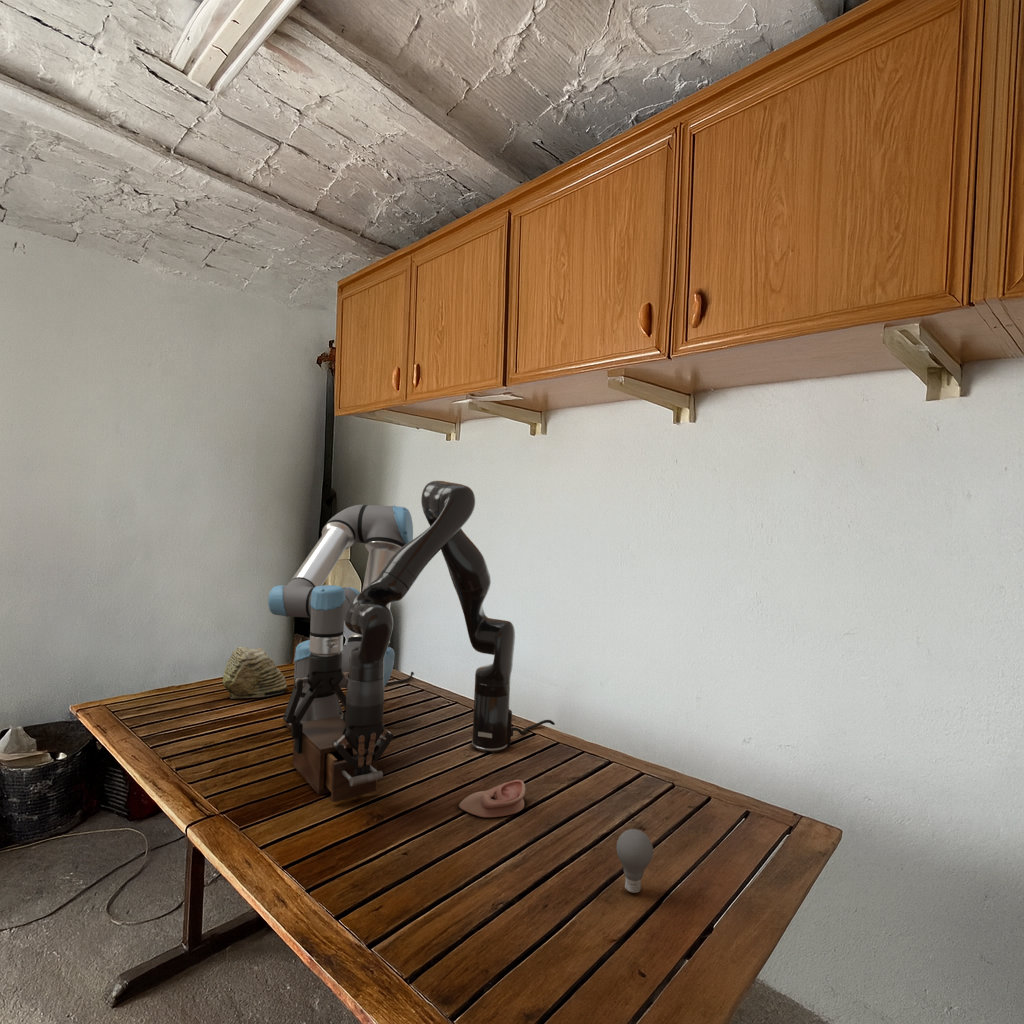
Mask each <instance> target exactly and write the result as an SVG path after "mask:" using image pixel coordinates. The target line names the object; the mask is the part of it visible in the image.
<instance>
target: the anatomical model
mask: <svg viewBox="0 0 1024 1024" xmlns="http://www.w3.org/2000/svg"><path fill="white" fill-rule="evenodd" d="M526 789H527V788H526V785H525V782H524V781H523V780H521V779H513V780H510V781H506V782H504V783H500V784H498V785H496V786H494V787H492V788H489V789H486V790H483V791H482V790H481V791H477V792H474V793H472V794H470V795H468V796H466V797H465V798H463V799H462V800H461V801H460V802H459V804H458V807H459V809H460V810H462V811H464V812H466V813H468V814H470V815H474V816H476V817H480V818H498V817H504V816H510V815H511V816H512V815H514V814H517V813H519V812H520V811H522V810H524V808H525V800H524V797H525V796H526Z"/></svg>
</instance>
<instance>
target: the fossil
mask: <svg viewBox="0 0 1024 1024" xmlns="http://www.w3.org/2000/svg"><path fill="white" fill-rule="evenodd" d="M222 676H223V677H222V685H223V687H224V688H225V690H226V691H228V693H229V698H230V699H250V698H264V697H271V696H275V695H281V694H284V693H285V691H286V689H287V687H288V686H287V680H286V678H285V676H284V674H283V673H282V672H281V669H279V668H278V667H277V665H276V663H275V662H274V660H273V659H272V658H271V657H270V656H269V655H268V654H267V653H266V652H265V650H264V649H263V648H260V647H258V648H251V647H247V646H246V647H245V646H238V647H237V648H236V649H235V650H233V651H232V653H231V656H230V657H229V659H228V660H227V663H226V666H225V668H224V671H223V675H222Z"/></svg>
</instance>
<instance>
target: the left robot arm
mask: <svg viewBox="0 0 1024 1024" xmlns="http://www.w3.org/2000/svg"><path fill="white" fill-rule="evenodd" d="M413 525H414V524H413V518H412V514H411V512H410V510H409V509H408V508H407V507H405V506H397V505H378V504H377V505H376V504H375V505H374V504H355V505H351V506H349V507H346V508H345V509H343V510H341V511H340V512H337V513H336V514H335V515H333V516H332V517H331V518H330V519H329V520H328V521H327V522H326V524H325V525H324V526H323V527H322V530H321V536H320V538H319V539H318V541H317V542H316V543H315V545H314V547H313V548H312V549H311V551H310V552H309V553H308V555H307V557H306V558H305V559H304V561H303V562H302V564H301V565H300V567H299V568H298V570H297V571H296V572H295V573H294V575H293V576H292V578H291V580H289V582H288V583H287V585H285V584H281V585H275V586H273V587H272V588H271V589H270V591H269V594H268V598H267V606H268V610H269V612H270V613H271V614H272V615H275V616H281V617H285V618H288V617H290V618H310V625H309V626H310V628H309V629H310V630H309V639H307V640H304V641H302V642H299V643H298V644H297V645H296V647H295V654H294V659H293V661H294V672H293V689H292V692H291V694H290V697H289V700H288V703H287V705H286V707H285V711H284V714H283V716H282V720H283V721H284V723H285V726H286V728H287V729H289V730H290V736H291V738H292V739H293V740H294V739H295V751H296V752H297V753H298V754H299V753H302V731H303V724H302V723H301V722H307V721H313V720H318V719H324V718H330V717H335V716H339V717H340V718H341V719H342V720H344V721H345V718H346V712H343V709H342V708H344V709H345V710H346V694H345V693H344V691H343V689H347V684H348V677H349V657H350V653H351V651H352V650H353V649H354V648H356V647H359V646H360V645H361V641H362V635H360V634H357V633H354V632H352V634H350V635H349V636H348V638H347V643H346V644H344V629H345V628H344V627H345V620H344V618H345V612H346V610H347V608H348V606H349V604H350V603H351V601H352V600H353V599H354V598H355V597H356V596H357V595H358V594H359V593H360V592H361V591H360V590H358V589H356V588H354V587H351V586H349V587H346V586H345V587H343V586H340V585H336V584H335V585H332V584H331V585H330V584H325V582H326V581H327V578H328V577H329V575H330V574H331V573H332V571H333V569H334V568H335V566H336V565H337V563H338V561H339V560H340V558H341V557H342V555H343V553H344V552H345V551H346V550H348V549H350V548H351V547H352V546H353V545H354V544H364V547H365V549H366V550H367V552H368V557H367V563H366V569H365V573H364V579H363V580H364V581H363V585H362V590H364V589H365V588H366V587H367V586H368V585H369V584H370V583H372V582H373V581H374V580H375V579H376V578H377V577H378V575H379V574H380V573H381V571H382V570H383V568H384V567H385V566H386V564H387V563H388V561H389V560H390V559H391V557H392V556H393V555H394V554H395V553H396V552H397V551H398V550H399V549H400V548H402V547H403V546H404V545H406V544H407V543H409V542H410V541H412V540H413V539H414V526H413ZM391 604H392V602H390V603H389V604H387V605H386V606H387V607H388V608H389V610H390V611H391ZM390 645H391V640H390V641H389V644H388V648H387V651H386V654H385V657H384V687H385V686H389V685H394V684H399V683H404V682H408V681H410V680H411V679H412V677H413V676H414V675H415V673H414V671H410V675H409V677H406V678H404V679H399V680H393V681H390V678H391V677H392V676H391V675H392V673H393V671H394V666H395V657H396V655H395V650H394V648H392V647H391V646H390Z"/></svg>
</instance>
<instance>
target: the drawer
mask: <svg viewBox="0 0 1024 1024" xmlns="http://www.w3.org/2000/svg"><path fill="white" fill-rule="evenodd" d="M345 750H346V751H347V752H348V753H349V754H350V755H351V757H353V750H352V748H348V749H345ZM382 779H384V774H383V770H378V760H377V761H376V760H374V761H373V762H372V763H371V764H370V773H368V774H364V775H360V776H356V777H354V766H351V765H350V764H349V763H348V762H347V761H346V760H345V759H344V758H343V757H342V756H341V755H340V753H339V752H338V751H333V752H329V753H325V768H324V785H325V786H326V787H327V788H328V789H329V790H330V791H331V792H330V801H331V802H332V803H336V802H339V801H343V800H346V799H347V800H348V799H351V798H355V797H358V796H362V795H367V794H370V793H373V792H377V781H379V780H382Z"/></svg>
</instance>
